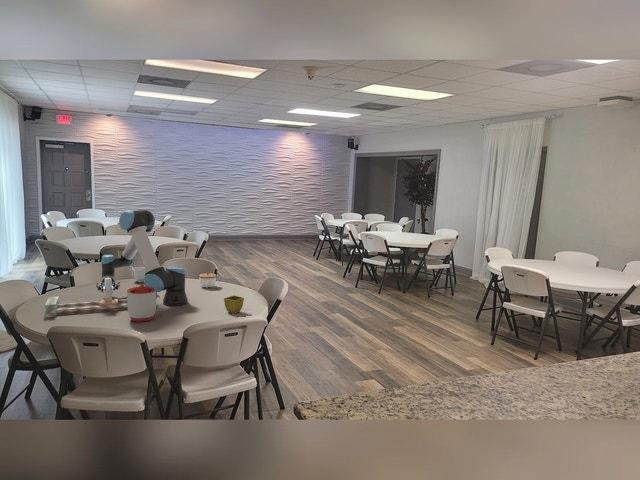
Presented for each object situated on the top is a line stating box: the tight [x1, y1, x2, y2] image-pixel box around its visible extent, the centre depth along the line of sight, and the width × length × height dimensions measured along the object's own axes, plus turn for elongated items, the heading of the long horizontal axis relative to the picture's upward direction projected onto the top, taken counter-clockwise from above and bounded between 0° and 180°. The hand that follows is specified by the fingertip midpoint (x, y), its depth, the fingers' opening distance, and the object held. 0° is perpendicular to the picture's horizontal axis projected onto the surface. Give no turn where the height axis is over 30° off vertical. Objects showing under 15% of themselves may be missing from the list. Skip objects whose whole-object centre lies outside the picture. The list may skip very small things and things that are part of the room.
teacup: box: [131, 266, 146, 283], centre depth 330 cm, size 12×15×10 cm
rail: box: [44, 296, 128, 318], centre depth 256 cm, size 48×18×7 cm, turn 116°
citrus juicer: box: [126, 284, 161, 323], centre depth 242 cm, size 16×17×20 cm
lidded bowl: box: [198, 272, 217, 288], centre depth 321 cm, size 13×13×11 cm
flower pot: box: [223, 295, 245, 314], centre depth 262 cm, size 9×9×9 cm
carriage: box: [99, 278, 119, 306], centre depth 259 cm, size 10×8×16 cm
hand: (108, 290), depth 254 cm, fingers open, 4 cm apart
